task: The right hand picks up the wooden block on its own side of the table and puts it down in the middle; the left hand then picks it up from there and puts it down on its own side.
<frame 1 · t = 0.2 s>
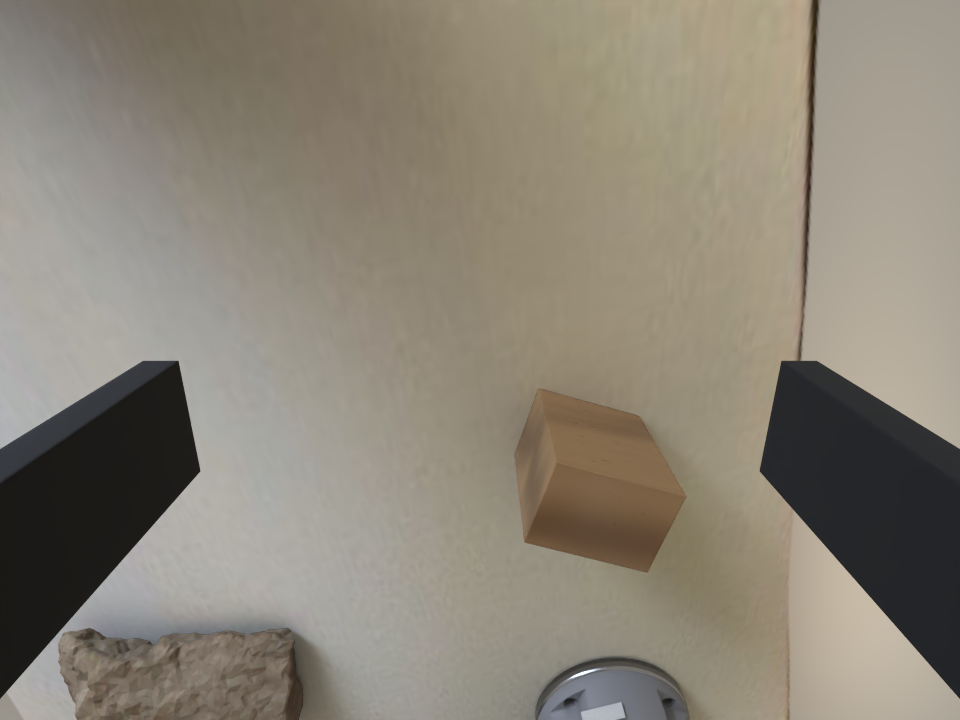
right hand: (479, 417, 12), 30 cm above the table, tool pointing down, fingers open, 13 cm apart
stone: (201, 668, 56), on the table
wooden block: (576, 435, 46), on the table
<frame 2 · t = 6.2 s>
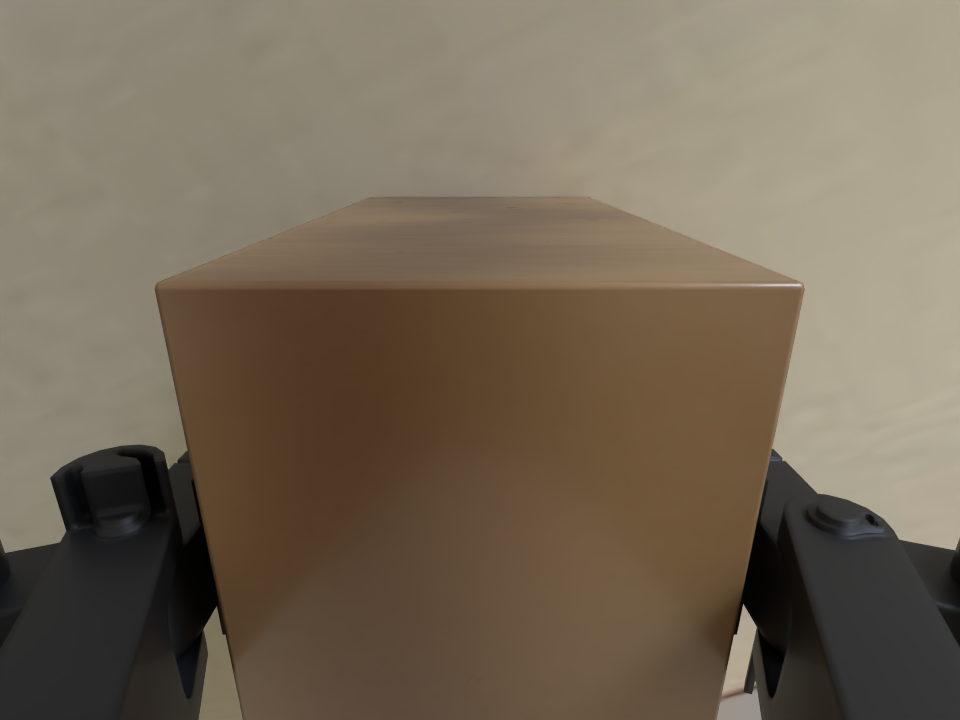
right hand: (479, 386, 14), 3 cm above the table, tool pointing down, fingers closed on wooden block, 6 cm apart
wooden block: (479, 342, 17), on the table, touching right hand
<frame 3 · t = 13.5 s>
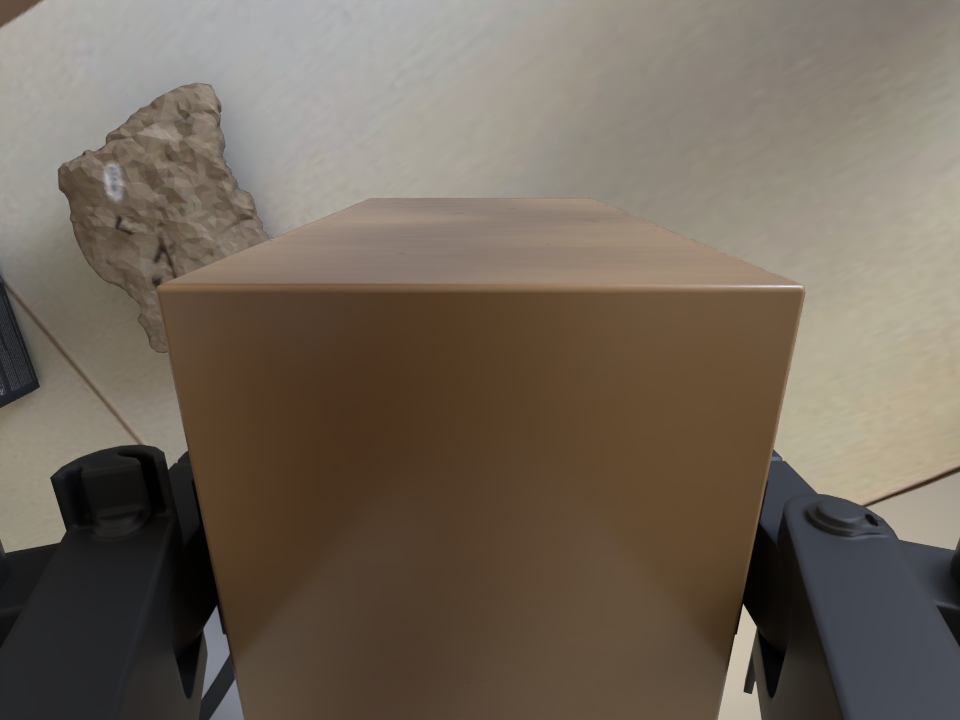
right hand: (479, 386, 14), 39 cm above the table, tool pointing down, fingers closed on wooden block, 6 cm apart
stone: (203, 231, 51), on the table
wooden block: (480, 343, 17), point 36 cm above the table, touching right hand
when the right hand's fingers open (5 cm above the table, at t = 20.8 s): wooden block drops 1 cm, on the table.
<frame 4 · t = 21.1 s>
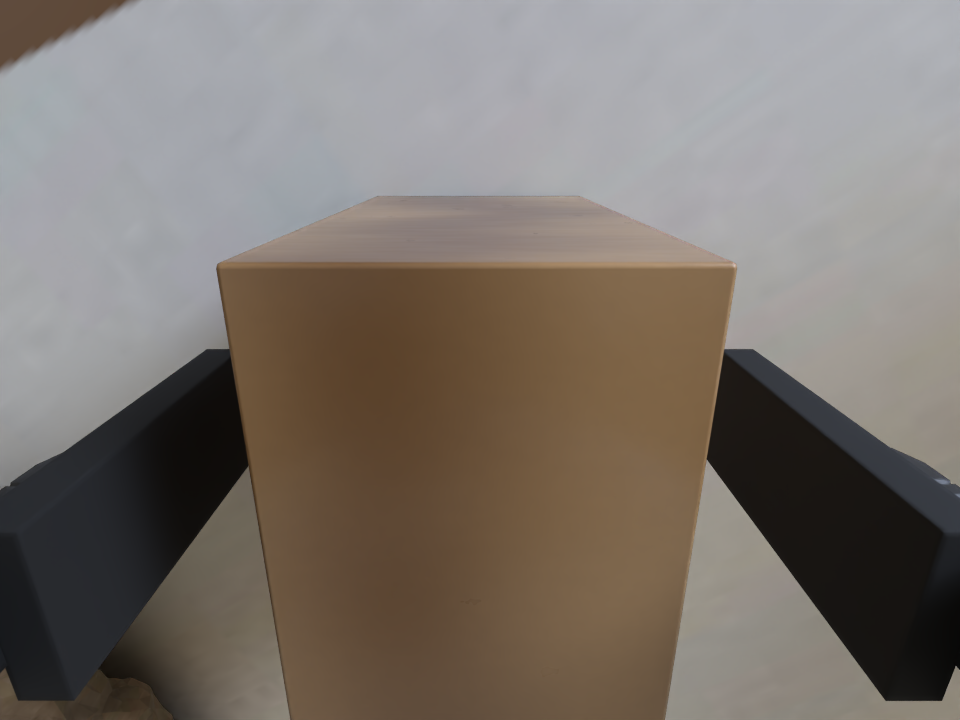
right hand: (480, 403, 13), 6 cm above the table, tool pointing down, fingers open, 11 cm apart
stone: (57, 706, 25), on the table
wooden block: (478, 331, 19), on the table
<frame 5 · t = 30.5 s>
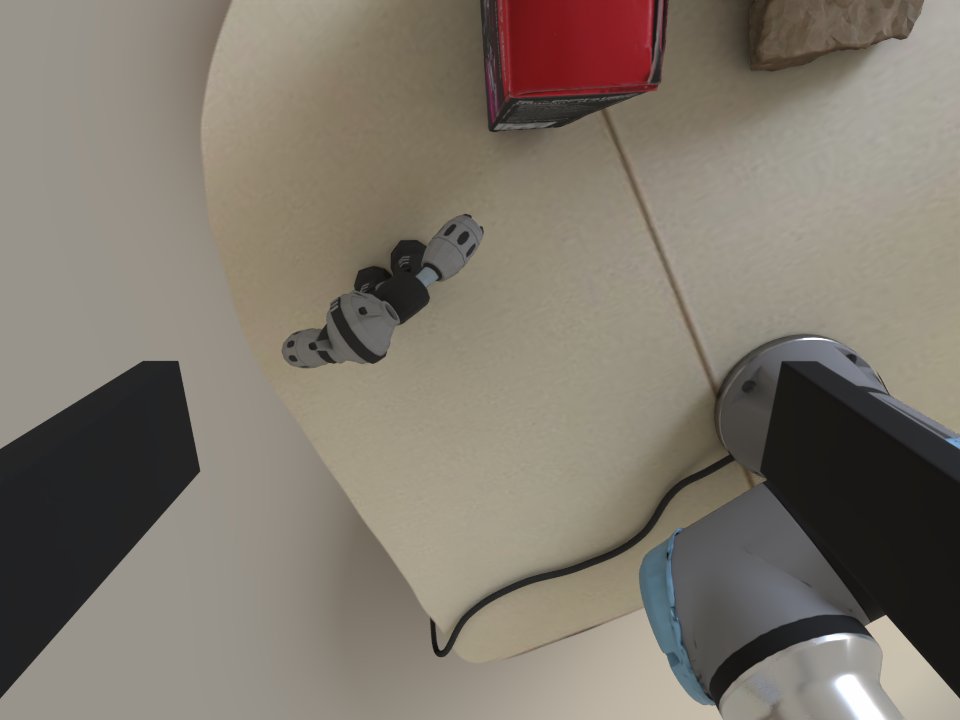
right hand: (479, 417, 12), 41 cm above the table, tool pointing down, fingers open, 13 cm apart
robot: (395, 275, 52), on the table
graphics card box: (523, 16, 45), on the table
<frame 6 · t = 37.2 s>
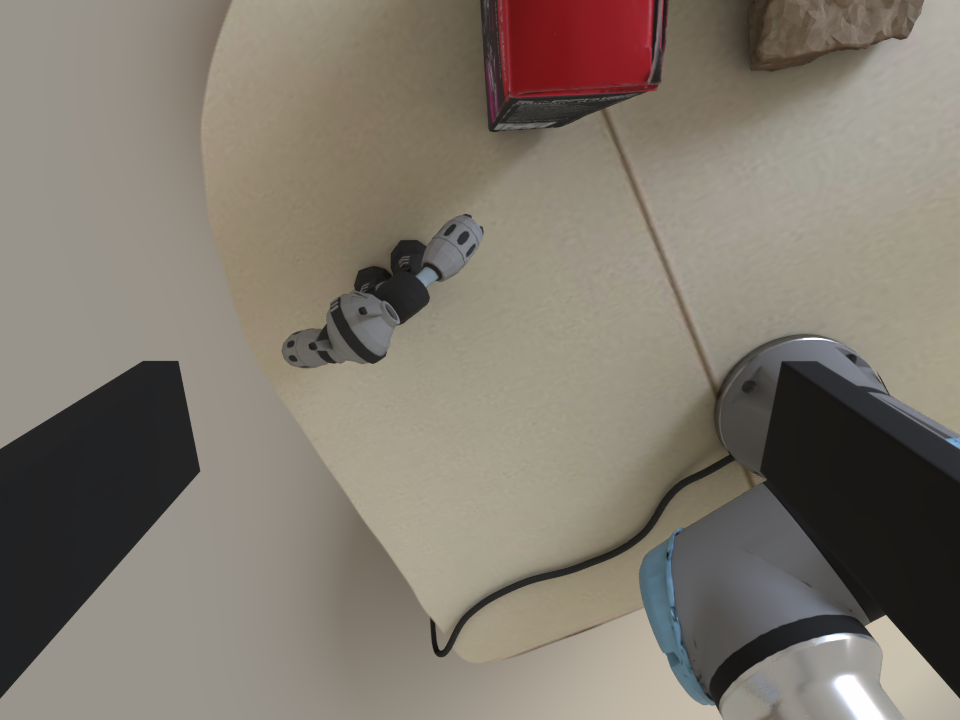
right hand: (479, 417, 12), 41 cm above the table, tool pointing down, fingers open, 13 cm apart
robot: (395, 275, 52), on the table
graphics card box: (523, 16, 45), on the table
when the left hand's fingers open (5 cm above the table, at t = 44.3 s): wooden block drops 1 cm, on the table.
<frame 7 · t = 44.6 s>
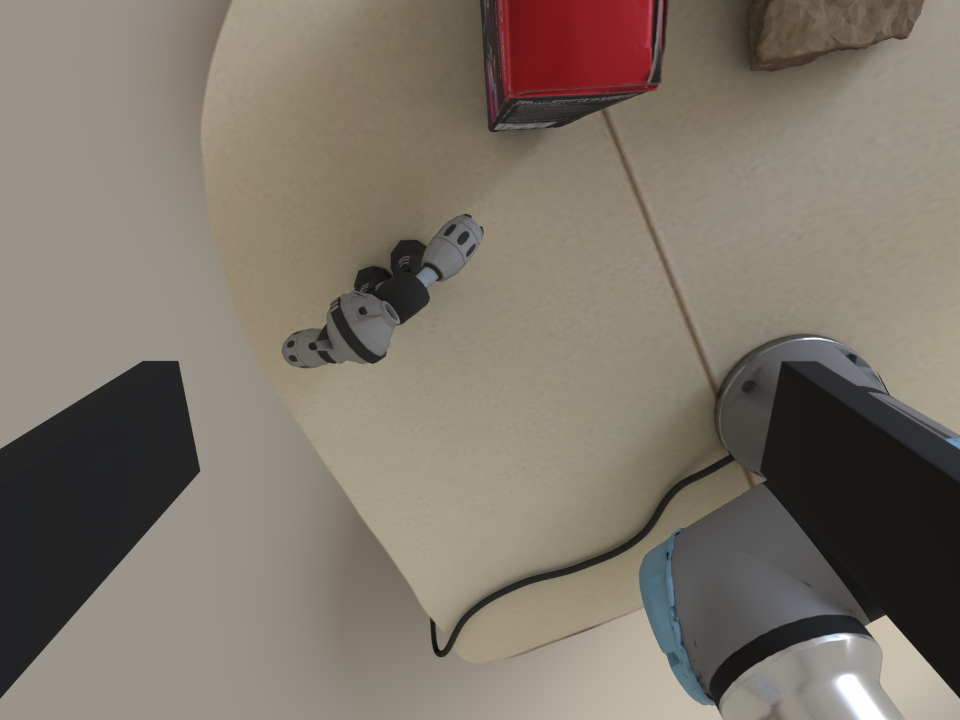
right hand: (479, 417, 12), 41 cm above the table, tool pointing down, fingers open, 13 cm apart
robot: (395, 275, 52), on the table
graphics card box: (523, 16, 45), on the table
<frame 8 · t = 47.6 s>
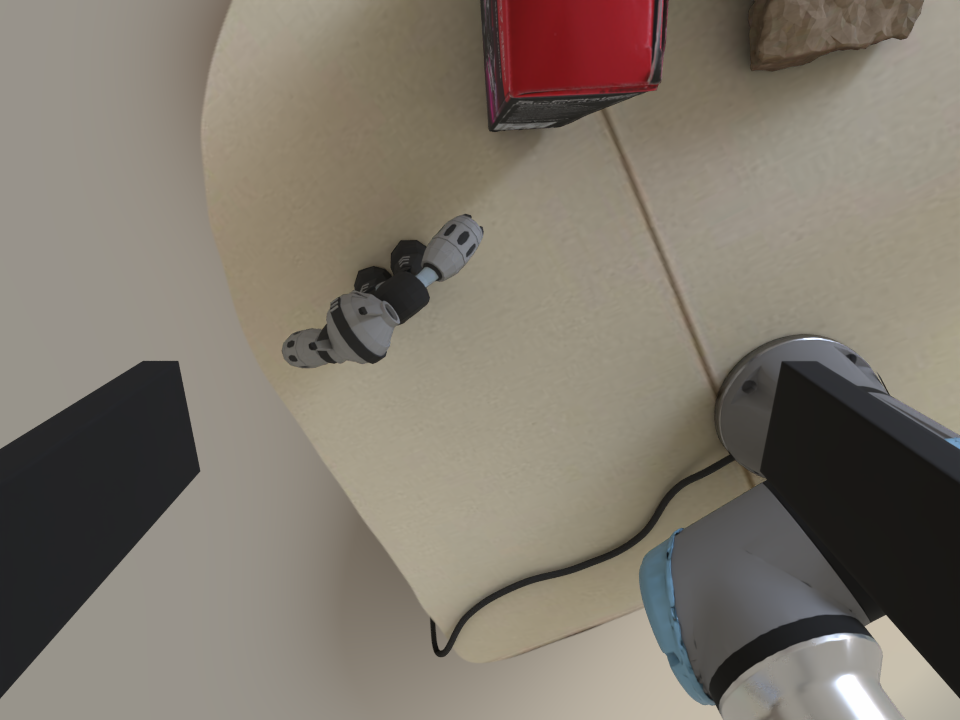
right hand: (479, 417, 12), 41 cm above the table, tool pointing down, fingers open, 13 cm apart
robot: (395, 275, 52), on the table
graphics card box: (523, 16, 45), on the table
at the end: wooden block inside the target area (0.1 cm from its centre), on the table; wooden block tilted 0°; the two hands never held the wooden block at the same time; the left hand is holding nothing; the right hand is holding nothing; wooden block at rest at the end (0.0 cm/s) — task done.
